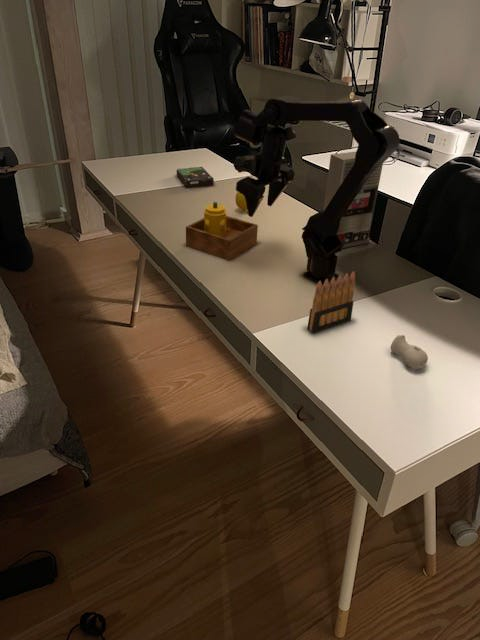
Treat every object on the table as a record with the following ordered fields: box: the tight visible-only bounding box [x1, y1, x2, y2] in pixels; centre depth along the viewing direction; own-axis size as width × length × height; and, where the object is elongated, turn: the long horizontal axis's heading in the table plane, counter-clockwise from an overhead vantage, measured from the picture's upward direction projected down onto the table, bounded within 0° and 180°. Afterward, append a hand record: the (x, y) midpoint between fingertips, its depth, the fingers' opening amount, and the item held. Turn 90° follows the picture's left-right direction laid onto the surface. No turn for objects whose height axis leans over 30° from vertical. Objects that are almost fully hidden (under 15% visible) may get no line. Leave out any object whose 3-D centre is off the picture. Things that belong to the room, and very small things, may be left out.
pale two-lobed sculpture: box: [390, 334, 429, 370], centre depth 98 cm, size 4×8×5 cm
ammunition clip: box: [306, 270, 356, 334], centre depth 105 cm, size 11×2×12 cm, turn 121°
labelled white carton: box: [323, 151, 384, 249], centre depth 137 cm, size 14×6×25 cm, turn 117°
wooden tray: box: [185, 215, 259, 261], centre depth 139 cm, size 15×14×6 cm
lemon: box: [235, 191, 247, 212], centre depth 160 cm, size 6×6×8 cm
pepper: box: [203, 201, 227, 237], centre depth 138 cm, size 6×6×9 cm
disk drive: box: [175, 166, 215, 188], centre depth 185 cm, size 10×3×15 cm
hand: (260, 210), depth 130 cm, fingers open, 9 cm apart
